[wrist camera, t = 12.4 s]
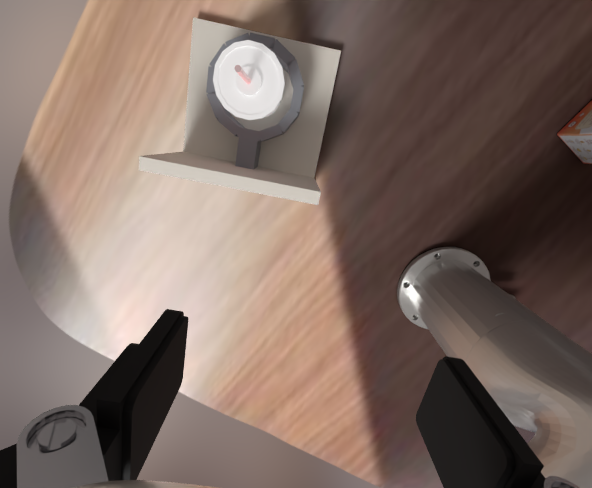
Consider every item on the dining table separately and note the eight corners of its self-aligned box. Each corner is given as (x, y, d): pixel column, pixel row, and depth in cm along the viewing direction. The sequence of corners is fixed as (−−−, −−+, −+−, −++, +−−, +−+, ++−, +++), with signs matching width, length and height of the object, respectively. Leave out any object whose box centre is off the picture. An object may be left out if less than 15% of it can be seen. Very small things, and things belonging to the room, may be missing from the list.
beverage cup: (260, 136, 36) (239, 134, 23) (222, 94, 35) (175, 66, 21) (298, 97, 35) (300, 70, 22) (260, 51, 33) (236, -7, 20)
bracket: (339, 53, 34) (360, 11, 23) (311, 186, 39) (318, 205, 28) (196, 21, 33) (145, -40, 22) (185, 161, 38) (138, 170, 27)
